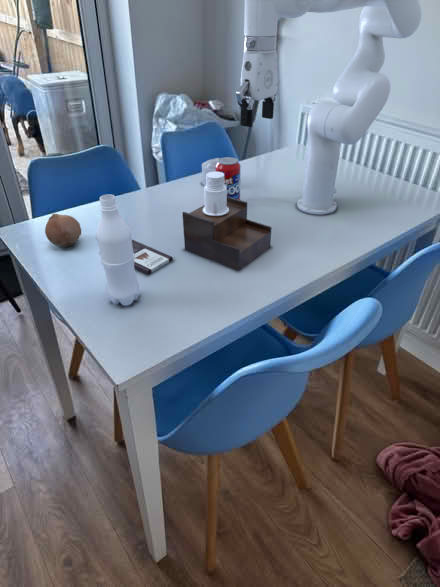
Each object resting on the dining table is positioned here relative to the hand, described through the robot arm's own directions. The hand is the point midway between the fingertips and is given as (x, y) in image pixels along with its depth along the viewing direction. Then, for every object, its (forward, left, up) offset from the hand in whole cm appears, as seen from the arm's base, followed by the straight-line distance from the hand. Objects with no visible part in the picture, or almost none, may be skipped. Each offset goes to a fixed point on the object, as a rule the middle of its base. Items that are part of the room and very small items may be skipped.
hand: (257, 122), depth 108 cm
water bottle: (+47, -4, -31) cm, 56 cm away
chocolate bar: (+32, -16, -30) cm, 47 cm away
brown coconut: (+39, -37, -31) cm, 62 cm away
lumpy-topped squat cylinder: (-22, -29, -31) cm, 47 cm away
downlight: (+14, -3, -20) cm, 25 cm away
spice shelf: (+14, +1, -30) cm, 33 cm away
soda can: (-9, -16, -31) cm, 36 cm away
